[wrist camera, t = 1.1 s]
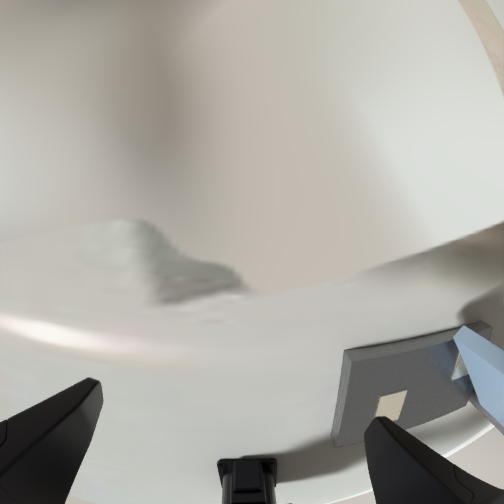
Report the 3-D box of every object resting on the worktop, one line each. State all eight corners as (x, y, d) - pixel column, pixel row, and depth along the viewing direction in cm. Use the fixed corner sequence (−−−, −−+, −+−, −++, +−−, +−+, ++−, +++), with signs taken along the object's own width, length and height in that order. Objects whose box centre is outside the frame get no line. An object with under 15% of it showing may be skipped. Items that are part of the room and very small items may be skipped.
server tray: (457, 397, 25) (466, 406, 23) (330, 435, 25) (335, 448, 22) (481, 321, 23) (493, 327, 21) (344, 350, 23) (352, 363, 21)
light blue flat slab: (478, 387, 25) (523, 428, 14) (466, 399, 25) (510, 444, 15) (445, 309, 23) (521, 355, 12) (429, 326, 23) (502, 381, 12)
